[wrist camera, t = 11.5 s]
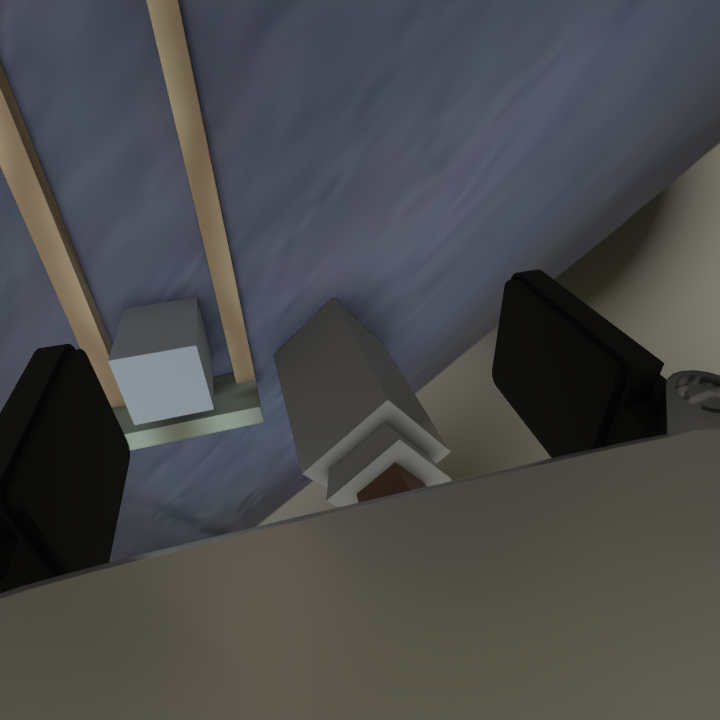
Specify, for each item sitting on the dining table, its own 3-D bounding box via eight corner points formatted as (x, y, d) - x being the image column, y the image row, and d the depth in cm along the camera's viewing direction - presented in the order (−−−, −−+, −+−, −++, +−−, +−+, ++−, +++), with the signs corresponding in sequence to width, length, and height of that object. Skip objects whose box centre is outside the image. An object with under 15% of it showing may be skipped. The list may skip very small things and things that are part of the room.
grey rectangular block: (196, 297, 34) (196, 345, 29) (212, 354, 37) (214, 409, 32) (123, 308, 33) (107, 360, 28) (144, 366, 36) (134, 425, 31)
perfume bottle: (328, 395, 42) (395, 575, 28) (273, 354, 39) (317, 537, 24) (384, 345, 41) (484, 506, 27) (333, 297, 37) (417, 454, 23)
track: (166, -58, 24) (159, -80, 20) (256, 384, 40) (263, 422, 36) (-84, -57, 22) (-148, -81, 18) (116, 411, 37) (106, 455, 33)
